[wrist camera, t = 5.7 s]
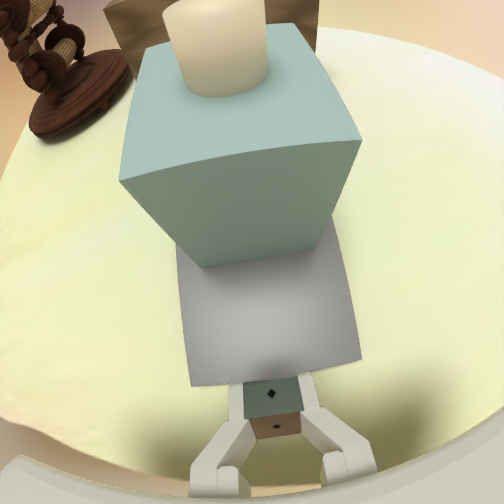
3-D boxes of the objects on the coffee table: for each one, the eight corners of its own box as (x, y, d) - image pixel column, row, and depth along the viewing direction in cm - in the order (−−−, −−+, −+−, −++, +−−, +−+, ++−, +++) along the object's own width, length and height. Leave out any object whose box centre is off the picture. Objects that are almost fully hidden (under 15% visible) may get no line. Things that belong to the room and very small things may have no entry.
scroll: (58, 87, 28) (1, 0, 9) (143, 50, 27) (99, -63, 8) (26, 161, 23) (-67, 63, 4) (124, 118, 23) (37, -42, 4)
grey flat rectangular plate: (282, 81, 22) (282, 74, 22) (357, 358, 15) (362, 359, 14) (178, 99, 23) (175, 92, 22) (195, 384, 15) (191, 386, 14)
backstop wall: (306, 69, 23) (312, -33, 12) (312, 79, 22) (320, -29, 11) (150, 95, 23) (109, 2, 12) (149, 107, 23) (102, 9, 11)
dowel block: (288, 145, 19) (293, -29, 7) (315, 249, 16) (391, 56, 4) (193, 161, 19) (127, 0, 7) (200, 268, 17) (62, 113, 4)
